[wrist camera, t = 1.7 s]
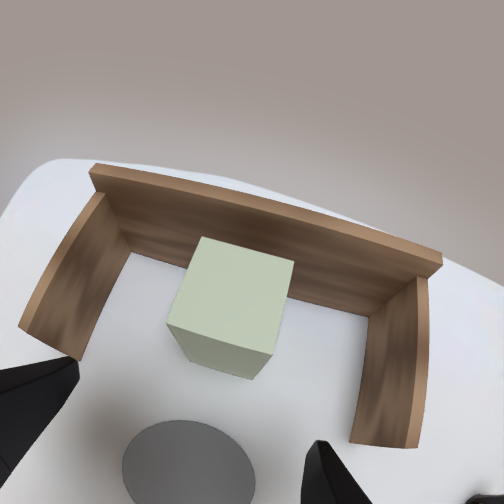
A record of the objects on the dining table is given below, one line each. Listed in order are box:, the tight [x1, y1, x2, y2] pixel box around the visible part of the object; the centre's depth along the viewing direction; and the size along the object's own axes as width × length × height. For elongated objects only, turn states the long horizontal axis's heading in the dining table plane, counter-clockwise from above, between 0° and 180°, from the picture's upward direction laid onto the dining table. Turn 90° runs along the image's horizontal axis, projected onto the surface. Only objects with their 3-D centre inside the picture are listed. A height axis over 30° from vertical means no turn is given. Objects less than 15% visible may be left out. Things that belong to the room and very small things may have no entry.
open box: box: [18, 163, 443, 449], centre depth 17 cm, size 12×25×10 cm, turn 75°
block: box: [166, 237, 294, 380], centre depth 17 cm, size 5×5×10 cm
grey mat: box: [122, 420, 255, 504], centre depth 15 cm, size 10×10×1 cm
